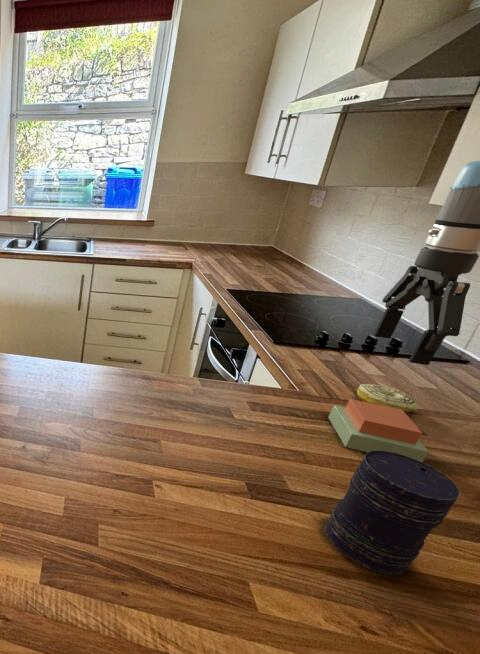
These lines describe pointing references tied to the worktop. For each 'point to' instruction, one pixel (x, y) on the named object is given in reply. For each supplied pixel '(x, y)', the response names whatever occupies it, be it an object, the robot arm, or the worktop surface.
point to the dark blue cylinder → (390, 511)
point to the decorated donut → (386, 397)
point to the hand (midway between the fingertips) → (398, 349)
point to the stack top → (382, 421)
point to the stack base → (371, 438)
